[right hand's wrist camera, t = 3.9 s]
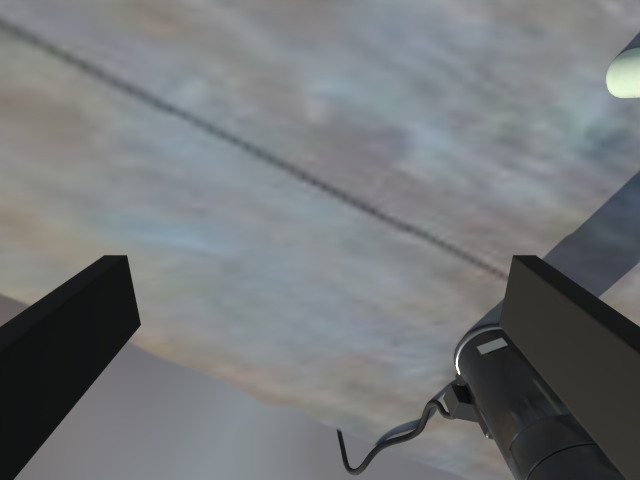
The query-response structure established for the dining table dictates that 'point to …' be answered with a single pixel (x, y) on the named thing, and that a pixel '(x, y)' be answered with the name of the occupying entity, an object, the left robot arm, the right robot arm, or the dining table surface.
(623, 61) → the pale green tube
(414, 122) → the dining table surface
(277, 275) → the dining table surface
